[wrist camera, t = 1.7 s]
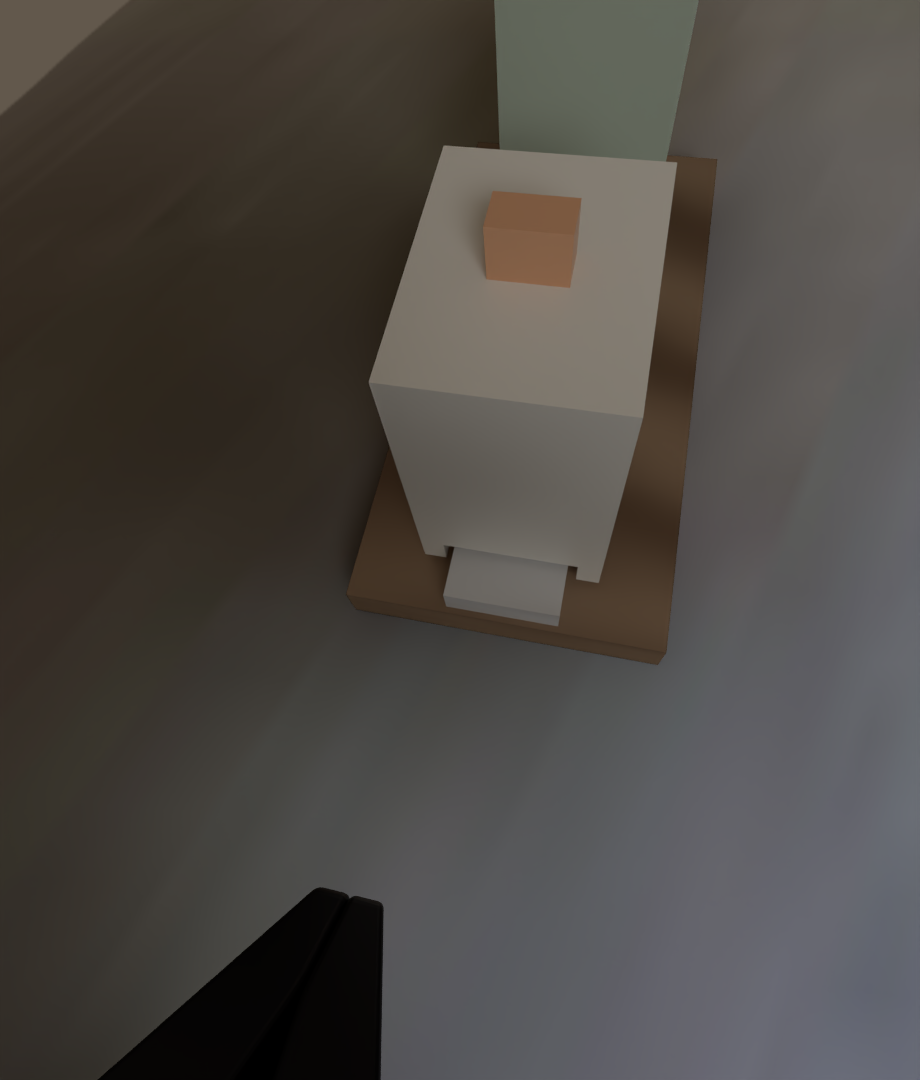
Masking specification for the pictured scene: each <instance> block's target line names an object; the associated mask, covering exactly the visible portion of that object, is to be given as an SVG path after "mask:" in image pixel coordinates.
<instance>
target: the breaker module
mask: <svg viewBox="0 0 920 1080" xmlns="http://www.w3.org/2000/svg"><path fill="white" fill-rule="evenodd" d="M676 168H677V162H664V161H650V160H636V159H623V158H609V157H595V156H581V155H567V154H553V153H540V152H526V151H512V150H498V149H484V148H471V147H457V146H443V150H442V153H441V156H440V159H439V162H438V165H437V168H436V172H435V175H434V178H433V181H432V184H431V187H430V190H429V194H428V197H427V200H426V203H425V206H424V209H423V212H422V216H421V219H420V222H419V225H418V228H417V231H416V234H415V238H414V241H413V244H412V247H411V250H410V253H409V257H408V260H407V263H406V266H405V269H404V272H403V275H402V279H401V282H400V285H399V288H398V291H397V294H396V297H395V301H394V304H393V307H392V310H391V313H390V316H389V319H388V323H387V326H386V329H385V332H384V335H383V338H382V341H381V345H380V348H379V351H378V354H377V357H376V360H375V363H374V367H373V370H372V373H371V376H370V379H369V385H370V388H371V391H372V395H373V398H374V401H375V404H376V407H377V410H378V413H379V416H380V419H381V422H382V425H383V428H384V431H385V434H386V437H387V440H388V443H389V446H390V449H391V452H392V455H393V458H394V461H395V464H396V467H397V470H398V473H399V476H400V479H401V482H402V485H403V488H404V491H405V494H406V497H407V500H408V503H409V506H410V509H411V512H412V515H413V518H414V522H415V525H416V528H417V531H418V534H419V537H420V540H421V543H422V546H423V549H424V552H425V554H429V555H435V556H441V557H447V553H448V549H449V546H453V547H459V548H465V549H471V550H477V551H483V552H489V553H495V554H501V555H507V556H514V557H520V558H526V559H532V560H538V561H544V562H550V563H556V564H562V565H568V566H574V567H578V569H577V575H576V579H578V580H584V581H589V582H595V583H599V580H600V576H601V572H602V569H603V565H604V561H605V558H606V554H607V550H608V546H609V543H610V539H611V535H612V532H613V528H614V524H615V520H616V517H617V513H618V509H619V506H620V502H621V498H622V494H623V491H624V487H625V483H626V480H627V476H628V472H629V468H630V465H631V461H632V457H633V453H634V450H635V446H636V442H637V439H638V435H639V431H640V427H641V424H642V420H643V415H644V407H645V400H646V392H647V385H648V377H649V370H650V362H651V355H652V347H653V340H654V332H655V325H656V318H657V310H658V303H659V295H660V288H661V280H662V273H663V265H664V258H665V250H666V243H667V235H668V228H669V220H670V213H671V205H672V198H673V191H674V183H675V176H676Z"/></svg>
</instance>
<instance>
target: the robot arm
mask: <svg viewBox="0 0 920 1080" xmlns="http://www.w3.org/2000/svg"><path fill="white" fill-rule="evenodd" d="M383 911H384V910H383V905H382V903H381V902H379V901H375V900H371V899H367V898H363V897H359V896H353V897H351V898H350V899H349V896H348V895H347V894H345V893H343V892H339V891H335V890H331V889H327V888H321V887H320V888H316V889H314V890H313V891H312V892H310V893H309V894H308V895H307V896H306V897H305V898H303V899H302V900H301V901H300V902H299V903H298V904H297V905H296V906H294V907H293V908H292V909H291V910H290V911H289V912H288V913H286V914H285V915H284V916H283V917H282V918H281V919H280V920H278V921H277V922H276V923H275V924H274V925H273V926H272V927H271V928H269V929H268V930H267V931H266V932H265V933H264V934H263V935H261V936H260V937H259V938H258V939H257V940H256V941H255V942H254V943H252V944H251V945H250V946H249V947H248V948H247V949H246V950H244V951H243V952H242V953H241V954H240V955H239V956H238V957H236V958H235V959H234V960H233V961H232V962H231V963H230V964H229V965H227V966H226V967H225V968H224V969H223V970H222V971H221V972H219V973H218V974H217V975H216V976H215V977H214V978H213V979H212V980H210V981H209V982H208V983H207V984H206V985H205V986H204V987H202V988H201V989H200V990H199V991H198V992H197V993H196V994H194V995H193V996H192V997H191V998H190V999H189V1000H188V1001H187V1002H185V1003H184V1004H183V1005H182V1006H181V1007H180V1008H179V1009H177V1010H176V1011H175V1012H174V1013H173V1014H172V1015H171V1016H169V1017H168V1018H167V1019H166V1020H165V1021H164V1022H163V1023H162V1024H160V1025H159V1026H158V1027H157V1028H156V1029H155V1030H154V1031H152V1032H151V1033H150V1034H149V1035H148V1036H147V1037H146V1038H145V1039H143V1040H142V1041H141V1042H140V1043H139V1044H138V1045H137V1046H135V1047H134V1048H133V1049H132V1050H131V1051H130V1052H129V1053H127V1054H126V1055H125V1056H124V1057H123V1058H122V1059H121V1060H120V1061H118V1062H117V1063H116V1064H115V1065H114V1066H113V1067H112V1068H110V1069H109V1070H108V1071H107V1072H106V1073H105V1074H104V1075H102V1076H101V1077H100V1078H99V1079H98V1080H381V1029H382V971H383Z"/></svg>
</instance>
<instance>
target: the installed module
mask: <svg viewBox="0 0 920 1080" xmlns="http://www.w3.org/2000/svg"><path fill="white" fill-rule="evenodd" d="M698 1H699V0H494V2H495V30H496V58H497V86H498V113H499V141H500V150H512V151H526V152H540V153H553V154H567V155H581V156H595V157H609V158H623V159H636V160H650V161H664V162H666V159H667V154H668V149H669V144H670V139H671V134H672V130H673V125H674V120H675V115H676V110H677V105H678V100H679V95H680V90H681V85H682V80H683V75H684V70H685V65H686V61H687V56H688V51H689V46H690V41H691V36H692V31H693V26H694V21H695V16H696V11H697V6H698Z"/></svg>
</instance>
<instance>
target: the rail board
mask: <svg viewBox="0 0 920 1080" xmlns="http://www.w3.org/2000/svg"><path fill="white" fill-rule="evenodd" d="M476 148H484V149H498V150H500V144H497V143H483V142H478V144H477V147H476ZM666 162H677V168H676V176H675V183H674V191H673V198H672V205H671V213H670V220H669V228H668V235H667V243H666V250H665V258H664V265H663V273H662V280H661V288H660V295H659V303H658V310H657V318H656V325H655V332H654V340H653V347H652V355H651V362H650V370H649V377H648V385H647V392H646V400H645V407H644V415H643V420H642V424H641V427H640V431H639V435H638V439H637V442H636V446H635V450H634V453H633V457H632V461H631V465H630V468H629V472H628V476H627V480H626V483H625V487H624V491H623V494H622V498H621V502H620V506H619V509H618V513H617V517H616V520H615V524H614V528H613V532H612V535H611V539H610V543H609V546H608V550H607V554H606V558H605V561H604V565H603V569H602V572H601V576H600V580H599V583H595V582H589V581H584V580H578V579H576V575H577V569H578V567H574V566H568V565H562V564H556V563H550V562H544V561H538V560H532V559H526V558H520V557H514V556H507V555H501V554H495V553H489V552H483V551H477V550H471V549H465V548H459V547H453V546H449V549H448V553H447V557H441V556H435V555H429V554H425V552H424V549H423V546H422V543H421V540H420V537H419V534H418V531H417V528H416V525H415V522H414V518H413V515H412V512H411V509H410V506H409V503H408V500H407V497H406V494H405V491H404V488H403V485H402V482H401V479H400V476H399V473H398V470H397V467H396V464H395V461H394V458H393V455H392V452H391V449H390V446H389V449H388V452H387V456H386V459H385V463H384V466H383V469H382V473H381V476H380V480H379V483H378V486H377V490H376V493H375V497H374V500H373V504H372V507H371V510H370V514H369V517H368V521H367V524H366V528H365V531H364V534H363V538H362V541H361V545H360V548H359V552H358V555H357V558H356V562H355V565H354V569H353V572H352V576H351V579H350V582H349V586H348V589H347V593H346V595H347V597H348V598H349V600H350V601H351V603H352V604H353V605H354V607H355V608H356V609H357V610H362V611H368V612H373V613H379V614H384V615H389V616H395V617H400V618H406V619H411V620H417V621H422V622H427V623H433V624H438V625H444V626H449V627H455V628H460V629H466V630H471V631H476V632H482V633H487V634H493V635H498V636H504V637H509V638H514V639H520V640H525V641H531V642H536V643H542V644H547V645H552V646H558V647H563V648H569V649H574V650H580V651H585V652H590V653H596V654H601V655H607V656H612V657H618V658H623V659H628V660H634V661H639V662H645V663H650V664H656V665H658V664H659V662H660V661H661V659H662V658H663V657H664V655H665V654H666V651H667V641H668V631H669V622H670V612H671V602H672V593H673V583H674V573H675V564H676V554H677V544H678V535H679V525H680V515H681V506H682V496H683V486H684V476H685V467H686V457H687V447H688V438H689V428H690V418H691V409H692V399H693V389H694V380H695V370H696V360H697V351H698V341H699V331H700V322H701V312H702V302H703V292H704V283H705V273H706V263H707V254H708V244H709V234H710V225H711V215H712V205H713V196H714V186H715V176H716V167H717V159H708V158H694V157H680V156H667V159H666Z"/></svg>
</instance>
